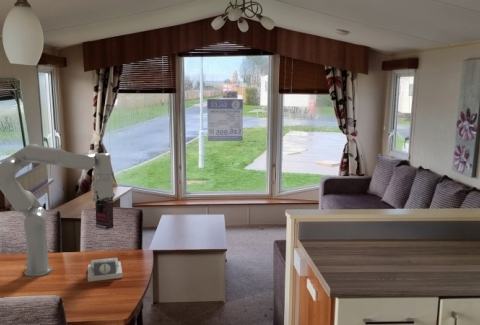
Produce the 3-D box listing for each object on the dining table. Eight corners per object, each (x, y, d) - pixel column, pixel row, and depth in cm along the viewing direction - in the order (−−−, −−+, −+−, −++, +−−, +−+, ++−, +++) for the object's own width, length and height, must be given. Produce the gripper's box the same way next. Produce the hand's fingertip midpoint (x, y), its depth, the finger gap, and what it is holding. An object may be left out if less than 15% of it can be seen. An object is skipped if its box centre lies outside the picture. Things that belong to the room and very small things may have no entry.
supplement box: (114, 228, 228) (113, 199, 226) (106, 231, 224) (105, 200, 222) (103, 226, 233) (102, 197, 231) (95, 228, 229) (94, 198, 227)
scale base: (88, 269, 224) (87, 253, 223) (120, 265, 229) (120, 250, 228) (87, 281, 209) (87, 265, 207) (122, 277, 214) (121, 261, 212)
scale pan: (91, 262, 223) (91, 260, 223) (117, 259, 227) (117, 257, 227) (90, 270, 213) (90, 267, 212) (118, 267, 217) (118, 264, 217)
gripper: (110, 174, 234) (110, 207, 236) (85, 178, 219) (86, 213, 221) (120, 175, 230) (121, 208, 233) (96, 180, 215) (97, 215, 218)
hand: (104, 210), depth 227 cm, fingers closed on supplement box, 5 cm apart
